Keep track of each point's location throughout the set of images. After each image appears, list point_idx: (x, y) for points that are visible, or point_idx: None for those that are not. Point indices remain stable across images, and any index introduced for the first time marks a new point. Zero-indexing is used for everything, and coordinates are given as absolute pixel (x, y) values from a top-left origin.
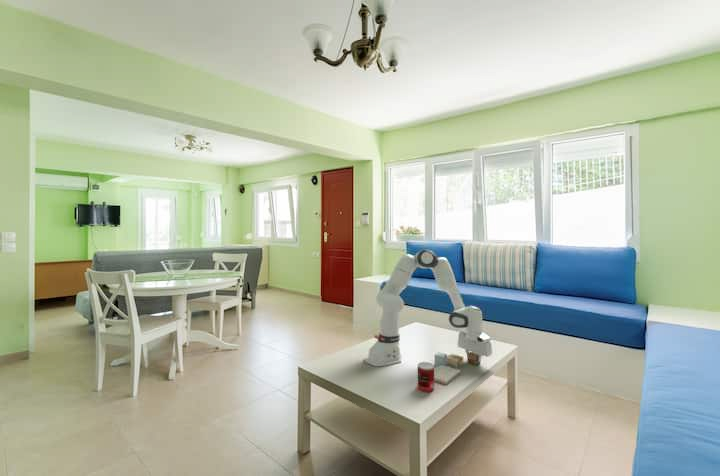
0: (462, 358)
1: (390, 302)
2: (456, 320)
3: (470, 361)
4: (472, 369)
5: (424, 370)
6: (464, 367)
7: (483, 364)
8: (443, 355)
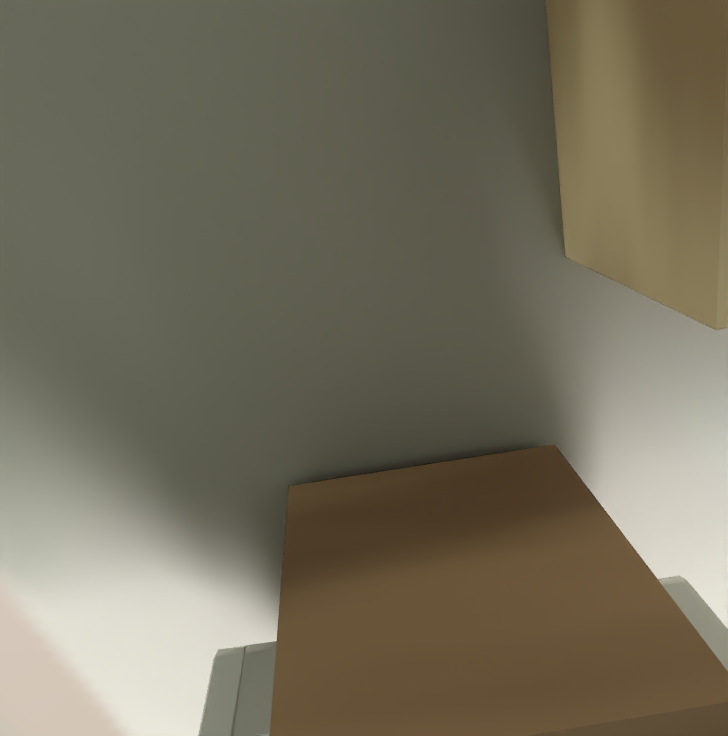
0: (681, 246)
1: None
2: None
3: (457, 489)
4: (47, 166)
5: None
6: (314, 26)
7: None
8: None
